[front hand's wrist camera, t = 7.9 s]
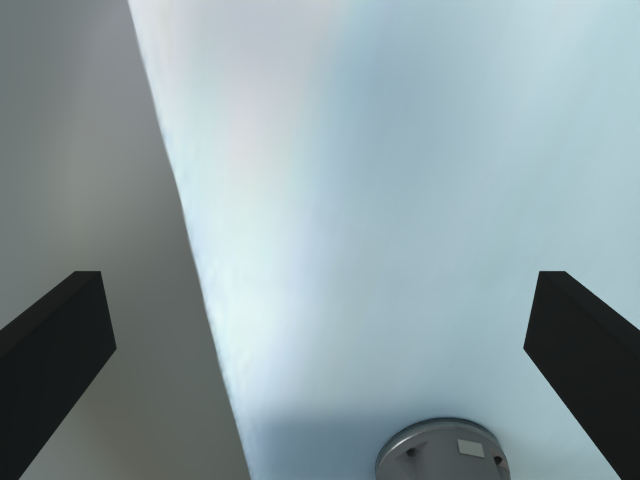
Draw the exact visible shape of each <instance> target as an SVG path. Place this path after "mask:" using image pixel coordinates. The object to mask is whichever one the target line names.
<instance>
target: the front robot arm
mask: <svg viewBox="0 0 640 480" xmlns="http://www.w3.org/2000/svg"><path fill="white" fill-rule="evenodd" d="M116 349H117V348H116V343H115V338H114V333H113V328H112V324H111V319H110V314H109V309H108V305H107V300H106V295H105V290H104V285H103V280H102V276H101V271H75V272H73V273H72V274H71V275H70V276H68V277H67V278H66V279H65V280H63V281H62V282H61V283H59V284H58V285H57V286H56V287H54V288H53V289H52V290H51V291H49V292H48V293H47V294H46V295H44V296H43V297H42V298H41V299H39V300H38V301H37V302H35V303H34V304H33V305H32V306H30V307H29V308H28V309H27V310H25V311H24V312H23V313H22V314H20V315H19V316H18V317H17V318H15V319H14V320H13V321H11V322H10V323H9V324H8V325H6V326H5V327H4V328H3V329H1V330H0V480H19V478H20V477H21V476H22V474H23V473H24V472H25V470H26V469H27V468H28V466H29V465H30V464H31V462H32V461H33V460H34V458H35V457H36V456H37V454H38V453H39V452H40V450H41V449H42V448H43V446H44V445H45V444H46V442H47V441H48V440H49V438H50V437H51V436H52V434H53V433H54V432H55V430H56V429H57V428H58V426H59V425H60V424H61V422H62V421H63V420H64V418H65V417H66V416H67V414H68V413H69V411H70V410H71V409H72V408H73V406H74V405H75V404H76V402H77V401H78V400H79V398H80V397H81V396H82V394H83V393H84V392H85V390H86V389H87V388H88V386H89V385H90V384H91V382H92V381H93V380H94V378H95V377H96V375H97V374H98V373H99V371H100V370H101V369H102V368H103V366H104V365H105V363H106V362H107V361H108V359H109V358H110V357H111V355H112V354H113V353H114V351H115V350H116ZM523 349H524V350H525V352H526V353H527V354H528V356H529V357H530V358H531V360H532V361H533V362H534V364H535V365H536V366H537V368H538V369H539V370H540V372H541V373H542V374H543V376H544V377H545V378H546V380H547V381H548V382H549V384H550V385H551V386H552V388H553V389H554V390H555V392H556V393H557V394H558V396H559V397H560V398H561V400H562V401H563V402H564V404H565V405H566V406H567V408H568V409H569V410H570V412H571V413H572V414H573V416H574V417H575V418H576V420H577V421H578V422H579V424H580V425H581V426H582V428H583V429H584V430H585V432H586V433H587V434H588V436H589V437H590V438H591V440H592V441H593V442H594V444H595V445H596V446H597V448H598V449H599V450H600V452H601V453H602V454H603V456H604V457H605V458H606V460H607V461H608V462H609V464H610V465H611V466H612V468H613V469H614V470H615V472H616V473H617V474H618V476H619V477H620V478H621V480H640V330H639V329H637V328H636V327H635V326H634V325H632V324H631V323H630V322H629V321H627V320H626V319H625V318H623V317H622V316H621V315H620V314H618V313H617V312H616V311H615V310H613V309H612V308H611V307H610V306H608V305H607V304H606V303H605V302H603V301H602V300H601V299H599V298H598V297H597V296H596V295H594V294H593V293H592V292H591V291H589V290H588V289H587V288H586V287H584V286H583V285H582V284H581V283H579V282H578V281H577V280H575V279H574V278H573V277H572V276H570V275H569V274H568V273H567V272H565V271H539V276H538V280H537V285H536V290H535V295H534V300H533V304H532V309H531V314H530V319H529V324H528V328H527V333H526V338H525V343H524V348H523ZM375 474H376V480H511V478H510V470H509V467H508V463H507V459H506V457H505V455H504V453H503V451H502V449H501V447H500V445H499V443H498V441H497V440H496V439H495V437H494V436H493V435H492V434H491V433H489V432H488V431H487V430H485V429H484V428H482V427H480V426H478V425H476V424H474V423H471V422H468V421H464V420H458V419H433V420H428V421H424V422H420V423H417V424H414V425H412V426H409V427H407V428H405V429H404V430H402V431H400V432H399V433H397V434H396V435H395V436H393V437H392V438H391V439H390V440H389V441H388V442H387V443H386V444H385V446H384V447H383V448H382V450H381V452H380V453H379V456H378V458H377V461H376V466H375Z"/></svg>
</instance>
